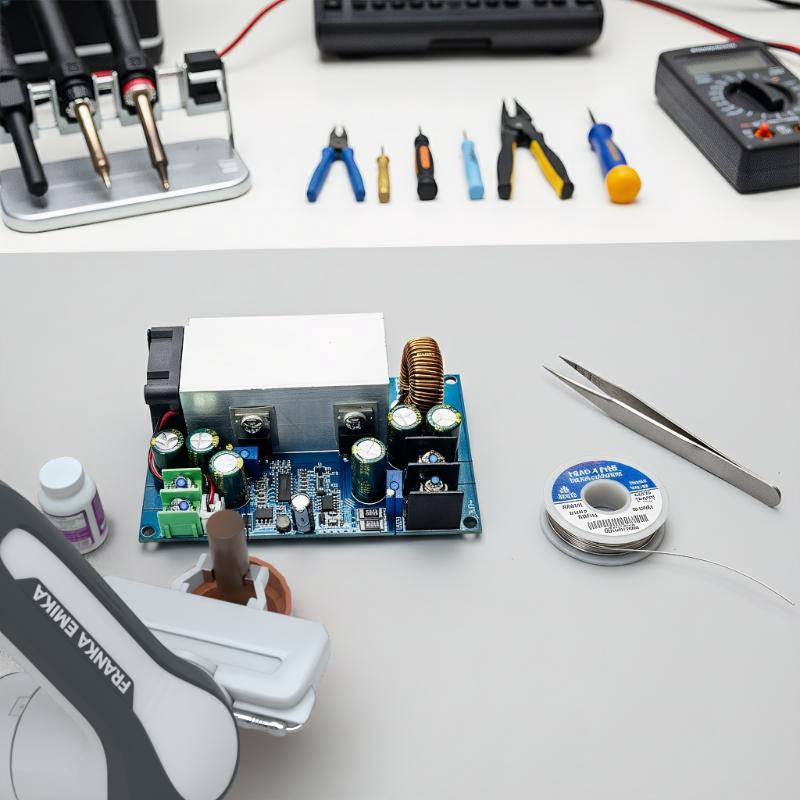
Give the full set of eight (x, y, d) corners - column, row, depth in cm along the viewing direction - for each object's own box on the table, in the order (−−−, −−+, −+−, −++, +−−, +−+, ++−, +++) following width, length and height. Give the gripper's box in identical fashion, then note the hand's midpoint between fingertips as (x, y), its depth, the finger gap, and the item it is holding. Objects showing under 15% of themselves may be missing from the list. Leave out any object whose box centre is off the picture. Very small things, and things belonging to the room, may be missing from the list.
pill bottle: (77, 507, 102) (57, 443, 95) (119, 526, 100) (102, 462, 93) (42, 544, 98) (18, 480, 91) (85, 564, 97) (64, 501, 90)
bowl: (194, 716, 86) (185, 680, 81) (159, 617, 93) (149, 579, 88) (312, 669, 89) (310, 632, 85) (270, 577, 96) (266, 539, 92)
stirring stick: (217, 633, 89) (198, 528, 79) (238, 609, 91) (221, 503, 80) (244, 648, 88) (228, 544, 78) (264, 623, 90) (251, 518, 79)
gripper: (301, 720, 71) (353, 567, 80) (38, 657, 74) (119, 516, 83) (304, 761, 75) (354, 611, 85) (57, 699, 78) (132, 561, 88)
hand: (235, 564), depth 84 cm, fingers closed on stirring stick, 3 cm apart
